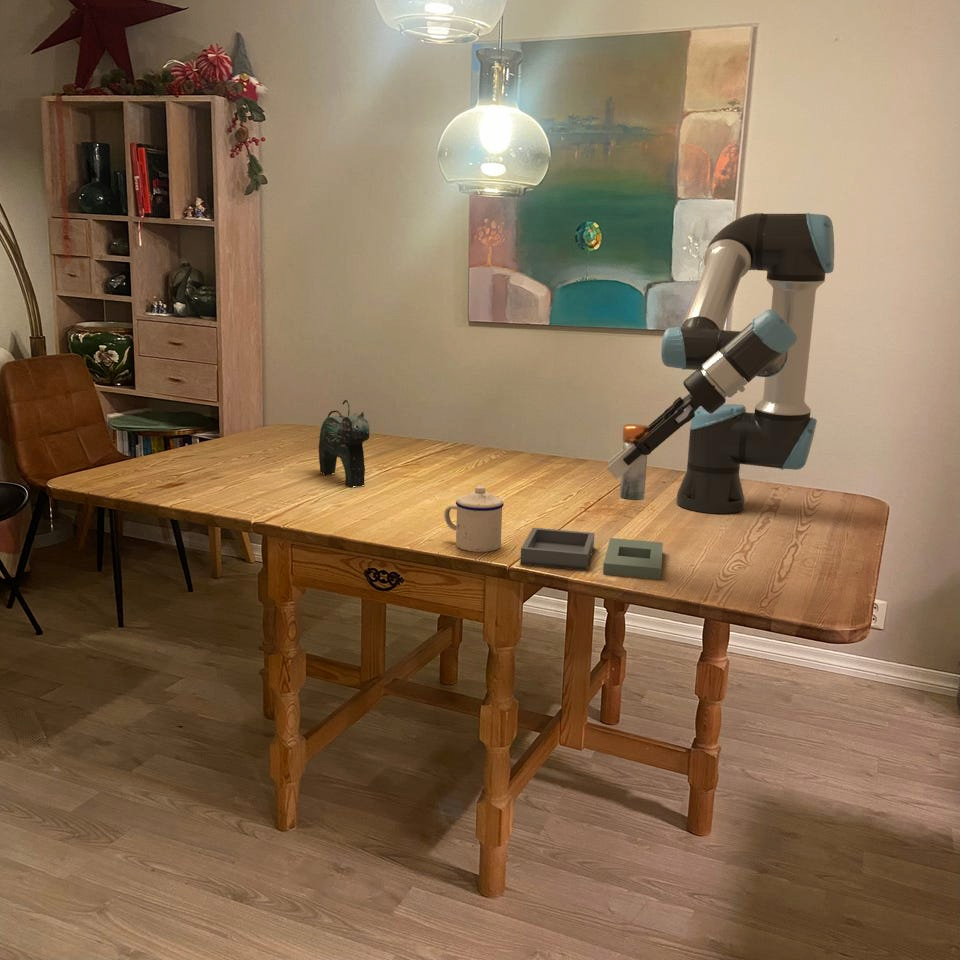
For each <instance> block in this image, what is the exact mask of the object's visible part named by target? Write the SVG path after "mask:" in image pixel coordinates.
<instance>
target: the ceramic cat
mask: <svg viewBox="0 0 960 960" xmlns="http://www.w3.org/2000/svg"><path fill="white" fill-rule="evenodd" d="M345 404H347V408H348V411H347V413H348V414H347V416H343V415H342V413H341V412H340V411H339V410H331V411H329V413H328V414H327V417H326V418H325V419H324V421H323V422H322V424H321V428H320V434H319V440H318V460H319V461H318V462H319V472H320V473H321V472H322V473H324V474H332V473H335V474H336V467H337V462H338V461H337V459H338V458H339V459H340V461H341V463H342V466H343V469H344V475H345V486H347V485H349V486H348V487H350V486H351V487H350V488H352V487H353V486H362V485H364V486H365V473H366V465H365V453H364V447H363V443H365V442H366V441H368V440H369V439H370V424H369V421H368V420H367V418H366V417H365V414H364V413H365V412H364V411H362V412H360V414H358V413H357V411H356V412H354V413H353V414H352V415H350V403H349V401H348V399H345V400H343V402H342V405H345ZM335 413H338V414H339V416H331V414H335ZM357 414H358V415H357ZM362 487H363V486H362Z"/></svg>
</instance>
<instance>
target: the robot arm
mask: <svg viewBox="0 0 960 960" xmlns="http://www.w3.org/2000/svg"><path fill="white" fill-rule="evenodd" d="M834 234H835V233H834V226H833V221H832V219H831V217H829V216H828V215H826V214H820V213H819V214H818V213H810V212H807V213H763V212H762V213H761V212H759V213H758V212H755V213H749V214H746V215H744V216H742V217H739V218H737V219H735V220H733V221H732V222H730V223H728V224H727V225H726V226H725V227H723V228H721V229H720V231H719V232H717V234H715V235H714V237H713V238H712V239H711V240H710V242H709V243H708V246H707V248H706V250H705V252H704V255H703V264H704V269H703V270H702V273H701V276H700V279H699V281H698V284H697V286H696V289H695V290H694V293H693V297H692V299H691V302H690V304H689V305H688V308H687V312H686V314H685V317H684V319H683V322H682V324H681V326H676V327H669V328H666V330H665V331H664V333H663V336H662V341H661V350H660V352H661V353H660V354H661V360H662V361H661V362H662V363H663V365H664V366H665V367H668V368H673V369H681V370H684V371H685V370H690V371H693V370H694V372H693V373H691V374H690V375H689V376H688V377H687V378H686V379H685V380H683V382H682V384H683V386H684V387H685V389H686V390H687V391H688V394H687V395H686V396H684V397H683V398H682V397H681V396H679V397H678V398H676V399H675V400H674V402H673V403H672V404H671V405H669V406H668V407H667V408H666V409H665V410H664V412H662V413H661V414H660V415H659V416H658V417H657V418H656V419H654V420H653V421H651V423H650V424H648V426H649V427H650V429H649V433H648V434H646V435H645V436H644V437H643V438H642V439H641V440H640V441H639V442H636V441H635V440H633V441H632V443H633V445H632V446H631V447H630V448H629V449H627V450H626V451H625V452H624V453H623V454H622V450H623V448H622V449H621V450H620V451H618V453H617V454H615V455H614V456H613V457H611V458H610V459H609V460H608V461H607V463H608V464H609V465H607V466H606V470H607V471H608V472H609V473H610V474H611V475H612V476H613V477H614V478H615V479H616V480H618V479H619V478H621V475H622V474H624V473H625V472H626V471H627V470H628V469H629V468H631V467H632V466H633V465H634V464H635V463H636V462H638V461H639V460H640V459H641V458H642V457H644V456H645V455H647V456H648V455H651V454H652V452H653V451H654V450H656V448H658V447H659V446H660V445H662V443H663V442H665V441H666V440H667V439H669V438H670V437H671V436H672V435H673V434H674V433H676V432H677V431H678V430H679V429H680V428H681V427H683V426H684V425H685V424H687V423H689V422H690V426H689V428H688V429H689V440H688V450H687V465H686V472H685V474H684V477H683V478H682V481H681V483H680V486H679V488H678V491H677V492H676V501H675V502H676V504H677V505H678V506H679V507H682V508H683V509H686V510H691V511H693V512H694V511H695V512H701V513H706V514H733V513H734V514H735V513H740V512H741V511H743V510H745V509H744V508H745V501H746V500H745V495H744V491H743V487H742V483H741V479H740V478H741V477H740V466H741V465H746V466H747V465H748V466H755V467H756V466H757V467H762V468H763V467H764V468H774V469H780V470H793V471H794V470H795V471H798V470H801V469H802V468H804V467H805V466H806V464H807V461H808V458H809V455H810V451H811V447H812V443H813V440H814V436H815V432H816V427H817V422H818V420H817V418H815V417H813V416H812V417H811V412H812V410H811V409H812V408H810V407H809V405H807V403H806V402H805V399H806V398H805V397H806V396H805V395H806V389H807V388H806V387H807V380H808V369H809V361H810V360H809V359H810V350H811V341H812V331H813V321H814V320H813V319H814V309H815V301H816V291H817V290H818V288H819V287H820V286H821V285H823V284H824V283H825V281H826V274H832V273H833V272H834V267H835V235H834ZM749 271H763V272H765V271H766V281H767V282H768V284H769V285H770V286H771V287H772V296H771V297H772V298H771V306H770V307H771V309H770V308H769V309H766V310H765V311H764V312H763V313H761V314H760V315H759V316H756V317H755V318H753V319H752V320H751V322H749V324H747V326H746V327H744V328H743V329H742V330H741V331H740V330H739V331H738V330H726V329H724V328H725V325H726V324H725V323H726V321H727V318H728V316H729V313H730V310H731V308H732V304H733V302H734V299H735V296H736V292H737V290H738V287H739V284H740V282H741V278H743V277H744V276H745V275H746V274H747V273H748V272H749ZM755 377H760V378H761V377H762V378H764V384H763V385H764V386H763V396H762V398H761V400H760V401H758V403H756V404H755V405H754V412H747V409H746V406H745V405H744V404H736V403H726V401H727V400H726V399H727V398H726V397H728V398H732V397H733V396H734V395H736V394H737V393H738V391H739V392H740V393H743V392H744V391H745V390H746V389H745V386H747V384H748V383H750V382H751V381H752V380H753V379H755Z"/></svg>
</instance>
